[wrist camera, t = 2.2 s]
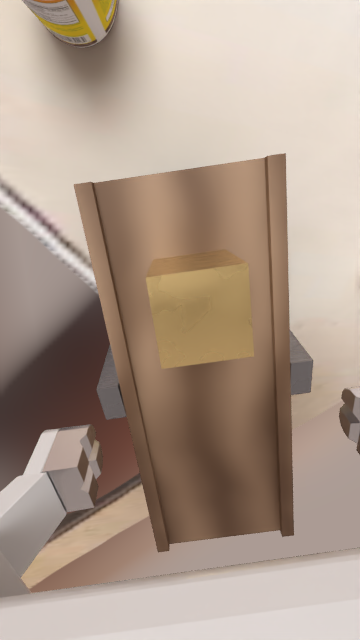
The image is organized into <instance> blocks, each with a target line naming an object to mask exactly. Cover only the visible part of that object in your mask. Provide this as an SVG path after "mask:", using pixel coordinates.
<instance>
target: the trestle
mask: <svg viewBox="0 0 360 640" xmlns="http://www.w3.org/2000/svg"><path fill="white" fill-rule="evenodd" d="M289 335H290V381H291V395H294V394H302V393H309V392H311V380H312V368H313V360H312V358H311V357H310V356H309V354H308V353H307V352H306V350H305V349H304V348H303V347H302V345H301V344H300V343H299V341H298V340H297V339H296V337H295V336H294V335H293V333H292V332H291V331H290V329H289ZM97 393H98V396H99V399H100V402H101V405H102V408H103V411H104V414H105V417H106V419H114V418H122V417H127V415H126V410H125V406H124V402H123V397H122V393H121V389H120V384H119V380H118V376H117V371H116V367H115V363H114V358H113V354H112V350H111V345H110V346H109V350H108V353H107V356H106V360H105V363H104V366H103V370H102V373H101V376H100V380H99V383H98V387H97Z"/></svg>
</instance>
